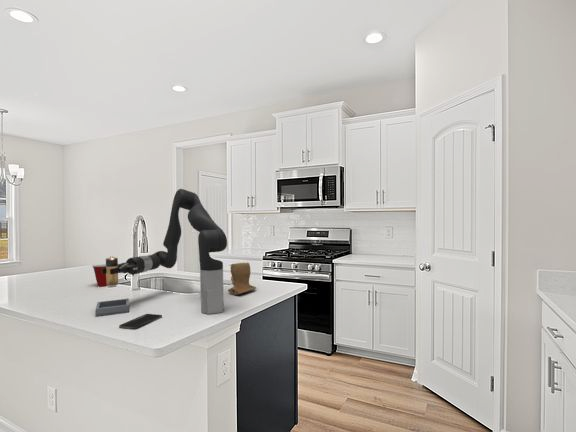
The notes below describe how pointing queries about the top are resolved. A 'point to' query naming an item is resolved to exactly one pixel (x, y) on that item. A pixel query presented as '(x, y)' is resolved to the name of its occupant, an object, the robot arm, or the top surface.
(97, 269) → the plastic cup
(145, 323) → the phone
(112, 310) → the tray
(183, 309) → the top surface
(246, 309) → the top surface
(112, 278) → the battery cell
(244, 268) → the brown boot
